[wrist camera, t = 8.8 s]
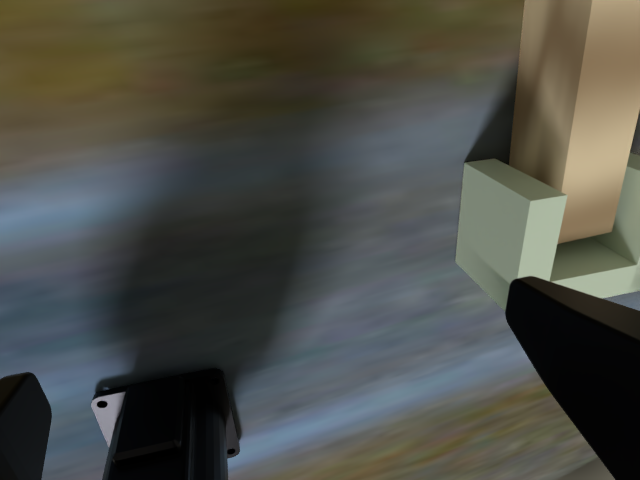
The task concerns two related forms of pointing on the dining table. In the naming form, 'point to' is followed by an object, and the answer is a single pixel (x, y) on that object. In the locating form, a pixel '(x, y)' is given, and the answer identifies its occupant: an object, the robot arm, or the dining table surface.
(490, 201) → the end cap
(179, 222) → the dining table surface
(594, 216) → the slat
